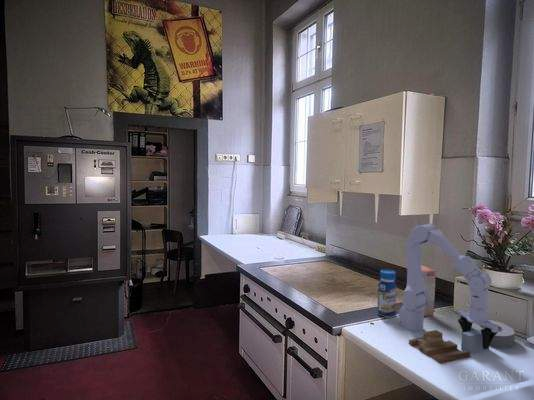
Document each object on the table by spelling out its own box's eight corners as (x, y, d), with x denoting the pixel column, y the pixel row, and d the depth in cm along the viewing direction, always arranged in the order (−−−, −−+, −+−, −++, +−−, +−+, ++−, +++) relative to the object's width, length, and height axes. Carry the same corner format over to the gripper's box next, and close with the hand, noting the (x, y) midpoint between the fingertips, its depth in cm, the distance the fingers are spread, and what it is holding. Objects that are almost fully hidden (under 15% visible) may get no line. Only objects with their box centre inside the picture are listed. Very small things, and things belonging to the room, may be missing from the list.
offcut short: (423, 338, 132) (423, 332, 132) (435, 336, 135) (436, 329, 134) (429, 342, 130) (429, 335, 130) (442, 339, 132) (442, 333, 132)
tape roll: (504, 353, 129) (504, 339, 129) (460, 337, 141) (461, 324, 141) (520, 341, 138) (521, 329, 138) (478, 327, 150) (479, 316, 150)
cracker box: (434, 316, 162) (436, 270, 160) (422, 316, 161) (424, 271, 159) (416, 304, 175) (418, 262, 174) (405, 305, 174) (407, 263, 173)
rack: (408, 346, 133) (408, 339, 133) (437, 340, 138) (437, 334, 137) (440, 366, 119) (440, 359, 119) (471, 359, 124) (472, 352, 123)
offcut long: (417, 344, 132) (417, 339, 132) (436, 341, 135) (436, 336, 135) (423, 348, 129) (424, 343, 129) (443, 344, 132) (443, 339, 132)
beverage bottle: (389, 310, 168) (391, 268, 166) (400, 317, 160) (401, 273, 158) (373, 311, 166) (374, 269, 164) (382, 318, 158) (384, 274, 156)
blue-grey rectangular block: (461, 351, 128) (462, 332, 128) (481, 347, 132) (482, 328, 131) (468, 355, 126) (469, 336, 125) (488, 350, 129) (490, 332, 129)
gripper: (452, 301, 133) (450, 336, 134) (488, 315, 120) (486, 354, 121) (466, 298, 136) (465, 333, 137) (503, 313, 122) (501, 351, 123)
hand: (476, 343), depth 129 cm, fingers open, 7 cm apart
